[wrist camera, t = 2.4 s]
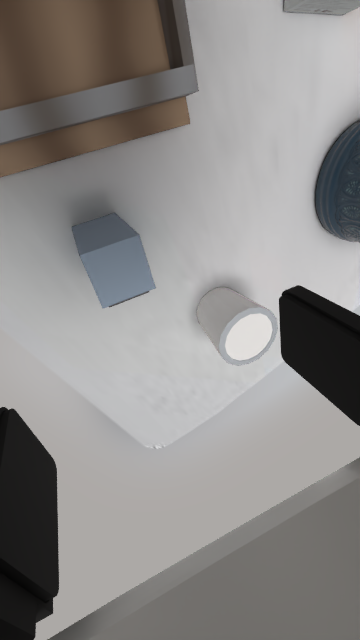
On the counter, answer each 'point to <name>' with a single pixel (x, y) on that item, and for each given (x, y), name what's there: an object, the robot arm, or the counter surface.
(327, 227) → the canister
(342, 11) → the small box
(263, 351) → the white cup
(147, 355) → the counter surface
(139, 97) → the rail
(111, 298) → the blue-grey block
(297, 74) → the counter surface
